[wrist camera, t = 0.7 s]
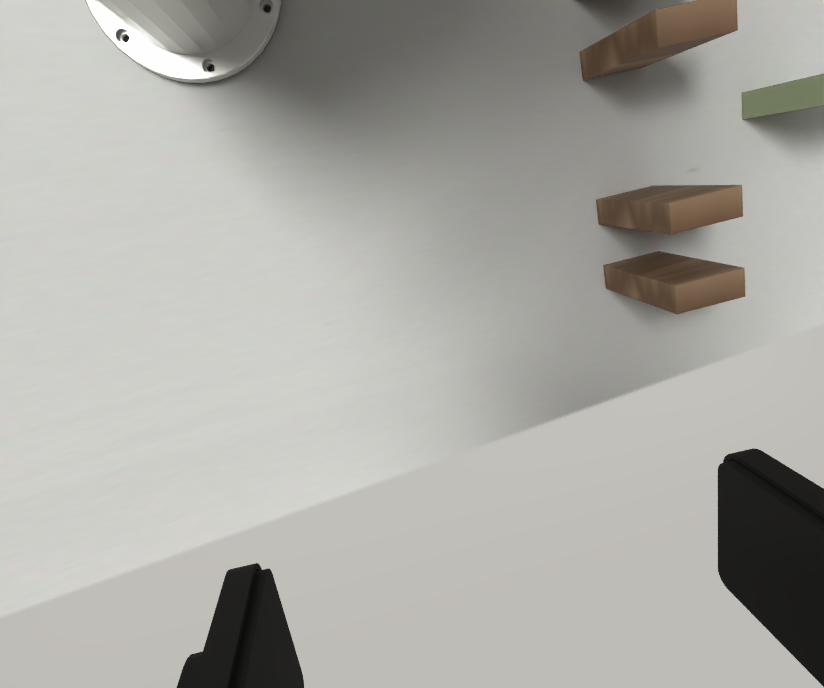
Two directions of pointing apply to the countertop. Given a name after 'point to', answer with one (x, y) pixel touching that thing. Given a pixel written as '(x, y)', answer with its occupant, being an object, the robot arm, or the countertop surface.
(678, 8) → the domino
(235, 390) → the countertop surface
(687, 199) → the domino
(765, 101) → the olive domino
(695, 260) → the domino
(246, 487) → the countertop surface
